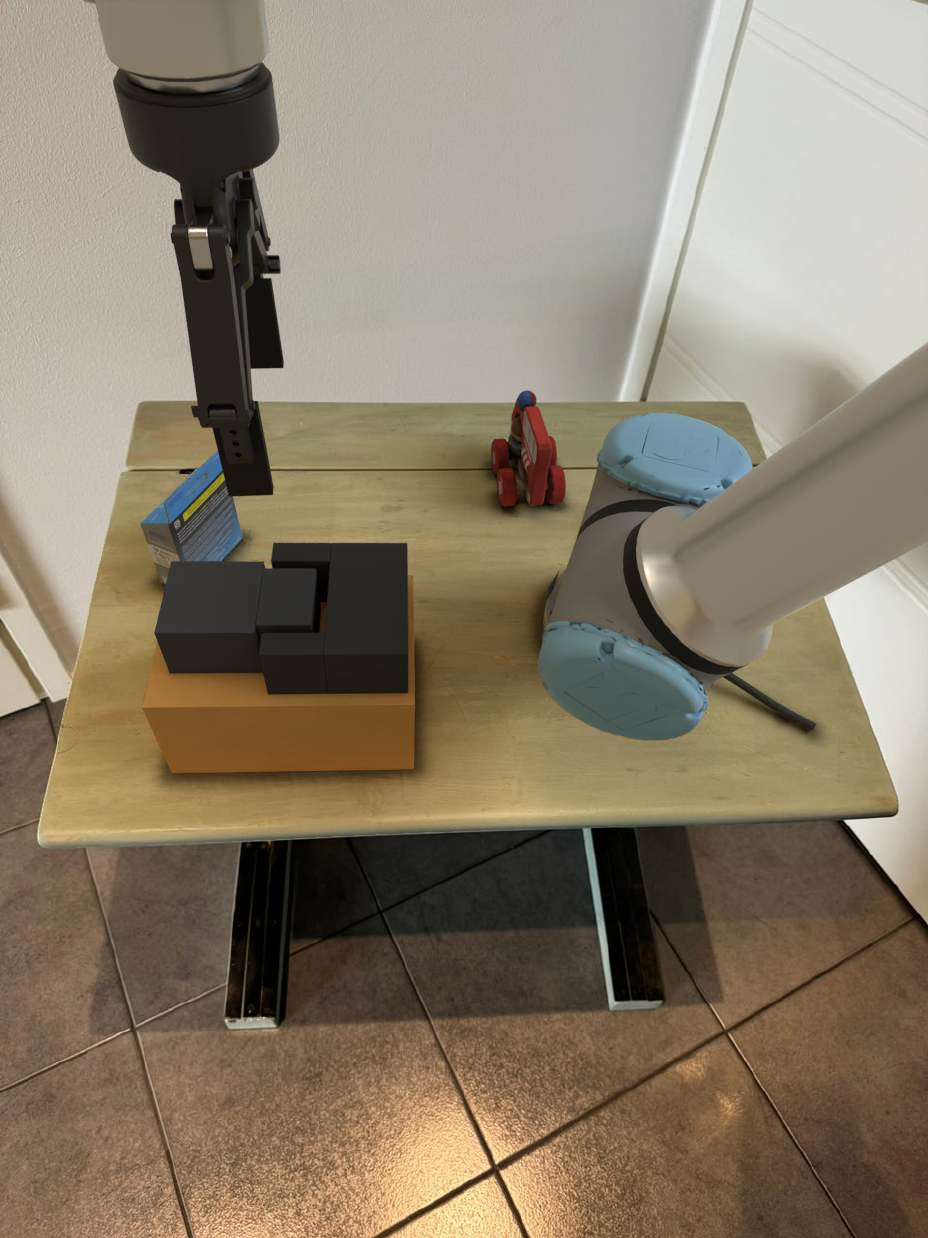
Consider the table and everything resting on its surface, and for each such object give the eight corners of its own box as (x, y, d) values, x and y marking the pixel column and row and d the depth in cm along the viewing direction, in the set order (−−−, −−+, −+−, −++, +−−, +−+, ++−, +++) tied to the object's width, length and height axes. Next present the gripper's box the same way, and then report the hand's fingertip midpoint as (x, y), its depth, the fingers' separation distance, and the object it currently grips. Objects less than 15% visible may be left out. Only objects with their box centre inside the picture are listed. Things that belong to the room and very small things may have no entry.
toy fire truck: (544, 446, 98) (557, 370, 90) (565, 520, 90) (581, 444, 82) (486, 448, 97) (493, 371, 89) (502, 523, 89) (512, 447, 81)
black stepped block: (321, 602, 68) (316, 561, 64) (316, 672, 64) (310, 632, 60) (184, 602, 67) (171, 560, 64) (169, 673, 63) (153, 633, 59)
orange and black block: (412, 646, 78) (413, 533, 67) (413, 769, 70) (415, 665, 59) (195, 647, 77) (158, 532, 65) (171, 773, 69) (123, 667, 57)
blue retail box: (212, 526, 87) (189, 431, 77) (244, 538, 86) (224, 444, 76) (158, 583, 82) (126, 488, 72) (192, 597, 81) (163, 503, 71)
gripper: (149, -15, 48) (219, 323, 64) (52, 178, 32) (178, 559, 48) (282, -12, 48) (318, 321, 65) (251, 178, 33) (309, 554, 49)
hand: (258, 424), depth 56 cm, fingers open, 13 cm apart
